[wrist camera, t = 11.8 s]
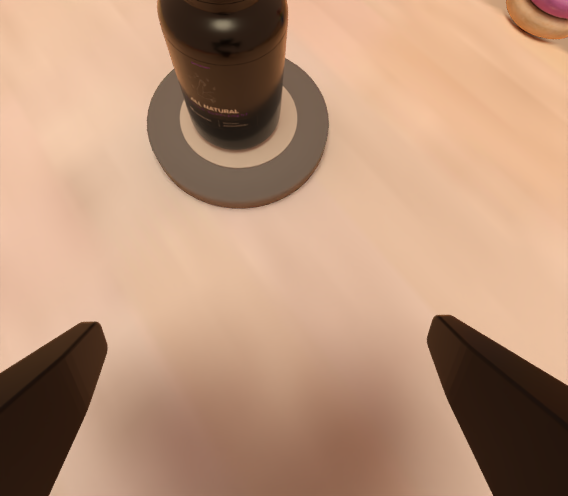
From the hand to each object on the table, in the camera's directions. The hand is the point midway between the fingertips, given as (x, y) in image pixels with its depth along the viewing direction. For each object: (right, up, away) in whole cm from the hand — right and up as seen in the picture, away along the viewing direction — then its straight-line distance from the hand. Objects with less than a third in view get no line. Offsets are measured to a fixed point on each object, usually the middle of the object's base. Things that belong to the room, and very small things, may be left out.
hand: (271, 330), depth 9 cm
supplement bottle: (-3, +12, +16) cm, 21 cm away
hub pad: (-3, +12, +18) cm, 21 cm away
